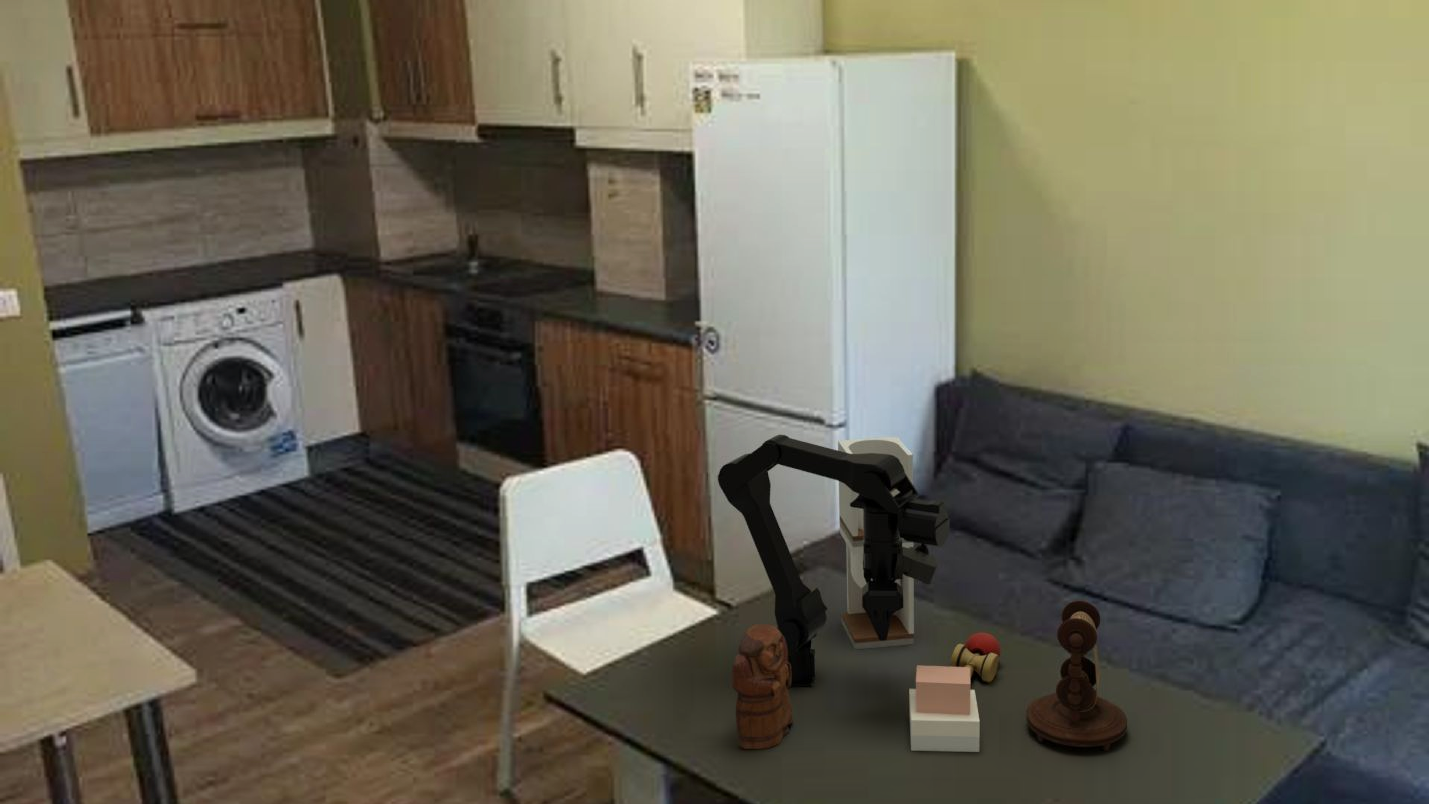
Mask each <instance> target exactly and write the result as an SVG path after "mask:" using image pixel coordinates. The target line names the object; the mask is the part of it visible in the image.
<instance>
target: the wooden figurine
mask: <svg viewBox="0 0 1429 804" xmlns="http://www.w3.org/2000/svg"><path fill="white" fill-rule="evenodd" d="M777 628H778V627H776V626H773V625H770V624H766V623H760V624H759V623H758V624H755V625H753V626H751V627H749V628H748V629H747V630H746V631H745V632H744V634H742V637H741V639H740V640H739V641H740V642H739V645H738V653H737V655H736V656H735V659H734V661H733V664H732V688H733V689H734V691H735V692H736V693H737V694H738V695H737V697H736V703H735V723H736V724H735V725H736V733H737V736H738V742H739V745H740V747H741V748H742V749H744V750H762V749H769V748H772V747H774V746H777V745H779V744H781V743H782V741H783V738H784V737H785V736H786V735H787V734H788V733H789V731H790V728H789V725H790V724H792V723H793V710H792V705H791V698H790V694H789V689H790V687H792V686H791V681H792V672H791V664H790V663H789V662H788V649H787V644H786V640H785V637H784V636H783V635H782V633H781V632H780V631H779V630H778V629H777Z"/></svg>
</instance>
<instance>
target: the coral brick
mask: <svg viewBox="0 0 1429 804" xmlns="http://www.w3.org/2000/svg"><path fill="white" fill-rule="evenodd" d="M915 674H916V675H915V689H916V712H923V713H944V714H965V715H970V690H971V679H970V667H951V666H947V665H945V666H942V665H918V664H917V665H916V673H915Z"/></svg>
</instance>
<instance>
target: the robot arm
mask: <svg viewBox="0 0 1429 804" xmlns="http://www.w3.org/2000/svg"><path fill="white" fill-rule="evenodd" d="M777 465H780V466H783V467H786V468H791V469H794V470H797V471H802V472H806V473H808V474H813V475H816V476H820V477H822V478H823V477H824V478H828V479H832V480H835V481H837V482H839V481H840V482H842V483H844V484H845V485H846V486H848V487H849V488H850V489H851V490H852V491H854V492H856V493H858V494H859V495H858V497H857V498H856V499H855V500H854V501H853V502H851V503H850V506H851V507H854V508H860V509H863V535H864V536H863V538H864V545H863V551H864V553H863V570H864V578H865V581H866V583H867V584H866V585H865V586H864V587H862V608H863V609H864V610H865V611H866V613H867V615H868V617H869V619H870V621H871V623H872V625H873V628H874V630H875V632H876V634H877V636H878V638H879V640H880V641H886V640H887V636H888V632H889V627H890V623H891V619H892V615H893V614H894V613H895V612H896V611H899V610H901V609H902V608H903V588H902V587H901V586H900V585H899V584H898V583H897V582H895V581H896V580H897V579H903V574H904V575H905V576H908V577H911V578H913V579H914V580H916V581H920V582H921V583H922V584H923V585H924V584H925V585H931V583H932V581H933V578H934V576H935V574H936V571H937V569H938V561H937V557H935V555H934V554H933V553H931V554H930V550H929V546H933V547H939V548H940V547H943V546H944V545H945V544H946V543H947V540H948V537H949V533H950V528H951V526H950V525H951V518H949V514H948V511H947V510H946V509H945V502H943V501H941V500H924V499H919V496H920V494H919V492H918V490H917V489H916V487H915V486H914V483H913V484H912V483H911V481H910V480H909V478H908V477H907V475H906V474H905V471H904V468H903V465H902V464H901V463H900V460H899V459H898V458H897V457H895V456H893V455H889V454H878V453H865V454H849V453H845V452H842V451H838V449H833V448H831V447H827V446H826V447H825V446H821V445H818V444H815V443H809V442H806V441H802V440H799V439H794V438H790V437H789V436H787V435H786V434H777V435H774V436H773V437H771V438H769V439H767V440H765V441H764V442H763V443H762V444H761V445H760V446H759V447H758V448H756V449H755V450H753V451H752V452H750V453H744V454H743V455H741V456H739V457H736V458H735V459H733V460H731V461H729V462H727V463H725V464H724V465H722V467H721V468H720V470H719V473H718V475H717V483H718V486H719V487H720V489H721V491H722V493H723V495H724V497H725V498H726V500H727V501H728V503H729V504H730V505H731V506H733V507H734V509H736V510H737V511H738V512H739V513H740V514H741V515H742V517H743V519H744V521H745V523H746V525H747V529H748V530H749V533H750V536H751V538H752V540H753V543H754V545H755V547H756V550H757V554H758V555H759V558H760V561H761V563H762V565H763V568H764V571H765V573H766V575H767V577H768V580H769V582H770V586H771V587H772V591H773V593H774V612H773V614H774V618H775V619H774V620H775V622H776V625H777V627H776V628H777V629H778V630H779V631H780V632H781V633H782V635H783V636H784V637H785V640H786V644H787V649H788V662H789V663H790V664H791V672H792V681H791V686H790V687H795V686H796V687H797V686H798V687H810V686H812V685H813V680H814V678H816V674H817V673H816V672H817V669H816V667H817V666H816V664H817V663H816V658H817V657H816V649H815V648H812V647H813V646H812V644H813V642H812V640H813V639H815V638H816V637H817V635H818V633H819V632H820V631H821V630H822V629H823V628H825V625H826V622H827V619H828V618H827V613H826V612H827V610H828V607H827V606H826V605H825V603H824V601H823V599H822V594H821V591H820V589H819V588H818V587H816V588H813V589H812V590H811V589H810V588H809V587H808V586H807V585H806V584H804V583H803V580H802V579H801V577H800V574H799V572H798V569H797V567H796V564H795V562H794V560H793V557H792V555H791V551H790V550H789V547H788V545H787V542H786V540H785V537H784V534H783V532H782V529H781V528H780V524H779V523H778V520H777V517H776V515H775V513H774V510H773V507H772V506H771V489H772V488H771V485H772V484H771V479H770V476H769V471H771V470H772V469H773V468H775V467H776V466H777ZM895 489H897V490H898V491H899V492H900V493H898V494H897V495H895V496H894V497H893V496H892V494H891V492H893V491H894V490H895ZM900 538H904V540H905V541H909V542H913V543H915V544H914V546H913V547H909V548H906V547H903V546H902V539H900Z"/></svg>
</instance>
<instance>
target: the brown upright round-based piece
mask: <svg viewBox="0 0 1429 804" xmlns="http://www.w3.org/2000/svg"><path fill="white" fill-rule="evenodd" d="M1061 621H1062V622H1061V623H1060V625H1059V627H1058V628H1057V633H1056V635H1057V636H1056V638H1057V641H1058V643H1059V645H1060V646H1061V647H1062V648H1063V649H1064V650H1065V651H1066V652H1067V653H1068V654H1069V655H1070V657H1068V658H1066V659H1065V660H1064V661H1063V663H1062V664H1061V666H1060V673H1059V674H1060V678H1061V679H1060V680H1059V681H1058V682H1057V685H1056V688H1055V692H1054V693H1050V694H1047V695H1043V696H1041V697H1038V698H1037V699H1034V700H1033V701H1032V702H1031V703H1030V704H1029V705H1028V706H1027V708H1026V716H1025V717H1026V718H1025V719H1026V723H1027V726H1028V727H1029V728H1030V730H1031V731H1033V732H1034V733H1035V735H1036V736H1037V740H1038V741H1039V742H1040V743H1042V742H1043V741H1044V739H1045V740H1048V741H1050V742H1053V743H1056V744H1060V745H1064V746H1070V747H1080V748H1081V747H1082V748H1089V747H1091V748H1093V747H1101V746H1102V748H1103V750H1104V752H1105V751H1106V752H1108V750H1109V749H1110V747H1111V744H1112V743H1115V742H1117V741H1118V740H1120V739H1122V738H1123V737H1124V736H1125V735H1126V733H1127V730H1128V718H1127V714H1126V713H1125V712H1124V710H1123V709H1121V708H1120V707H1119V706H1117V705H1116V704H1114V703H1113V702H1111V701H1109V700H1107V699H1105V698H1103V697H1100V696H1098V693H1099V692H1098V691H1099V687H1100V681H1101V680H1100V679H1101V671H1100V670H1101V669H1100V663H1099V656H1098V648H1097V647H1098V646H1097V641H1098V634H1097V630H1098V629H1099V626H1100V625H1101V615H1100V612H1099V610H1098V608H1096V606H1094V604H1092V603H1090V602H1088V601H1086V600H1073V601H1070V602H1069V603H1068V604H1066V605H1065V607H1064V608H1063V610H1062V612H1061ZM1091 651H1092V654H1093V660H1094V662H1093V661H1092V660H1091V659H1090V658H1087V657H1086V655H1087V654H1088V653H1089V652H1091ZM1095 685H1096V688H1094V686H1095Z"/></svg>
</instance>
